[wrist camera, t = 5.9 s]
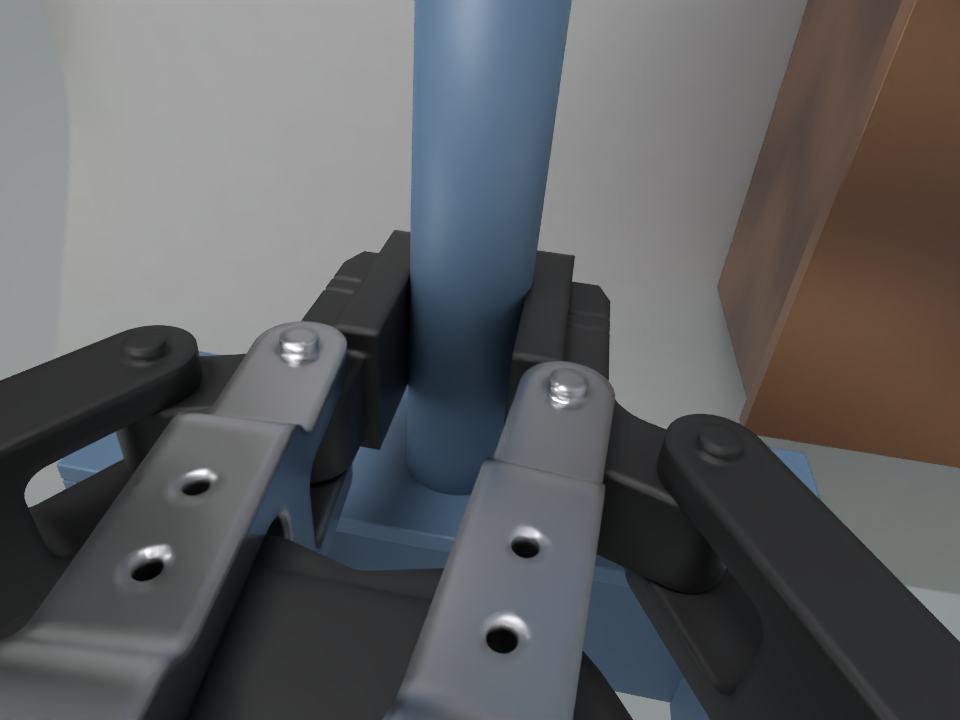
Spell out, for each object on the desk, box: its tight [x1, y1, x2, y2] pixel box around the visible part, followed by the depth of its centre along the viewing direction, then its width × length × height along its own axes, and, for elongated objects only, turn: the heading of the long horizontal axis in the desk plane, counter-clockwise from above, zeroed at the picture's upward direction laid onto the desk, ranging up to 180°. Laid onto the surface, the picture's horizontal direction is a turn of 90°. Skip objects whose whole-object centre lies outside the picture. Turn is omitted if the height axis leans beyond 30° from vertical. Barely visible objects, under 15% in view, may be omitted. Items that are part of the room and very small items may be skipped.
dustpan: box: [57, 0, 820, 720], centre depth 14 cm, size 20×14×4 cm
